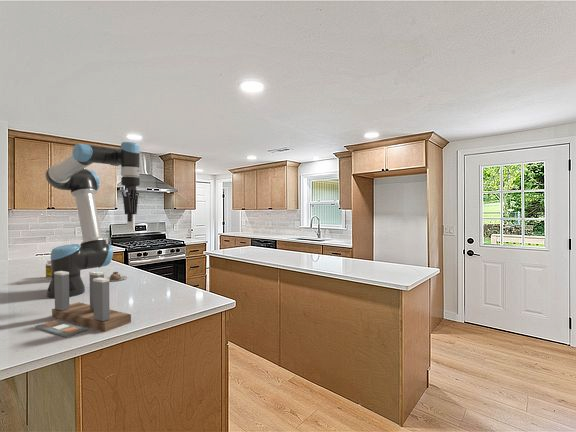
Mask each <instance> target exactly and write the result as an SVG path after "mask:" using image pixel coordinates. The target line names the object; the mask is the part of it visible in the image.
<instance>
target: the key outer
mask: <svg viewBox="0 0 576 432" xmlns="http://www.w3.org/2000/svg"><path fill="white" fill-rule="evenodd" d="M109 280H110V279H107V277H104V278H101V277H99V278H94V279H93V302H94V319H96V320H100V321H105V320H108V319H110V310H111V308H110V281H109Z"/></svg>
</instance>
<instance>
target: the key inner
mask: <svg viewBox="0 0 576 432" xmlns="http://www.w3.org/2000/svg"><path fill="white" fill-rule="evenodd" d="M54 286H55V298H54V308H55V309H58V310H62V311H63V310H67V309H69V305H70V296H69V272H65V271H57V272H54Z"/></svg>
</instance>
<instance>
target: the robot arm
mask: <svg viewBox="0 0 576 432" xmlns="http://www.w3.org/2000/svg"><path fill="white" fill-rule="evenodd" d="M140 153H141V152H140V144H139V143H137V142H131V141H122V142H121V144H120V148H113V147H107V146H98V145H91V144H88V143H87V144H86V143H76V144H74V146H73V148H72V154H70V155H69V156H68V157H67V158H65V159H64V160H62V161H61V162H60V163H57V164H53V165H51V166H50V167H48V168H47V170H46V171H45V179H46V181H47V183H48V184H49V185H50V186H52V187H53V188H55V189H57V190H63V191H70V194H71V196H72V197H74V198H75V203H76V204H75V205H76V208H77V214H78V220H79V225H80V231H81V236H82V237H81V238H82V241H81V242H80V244H78V243H71V244H63V245H60V246H56V247H54V248H52V249H51V252H50V260H51V278H50V279H51V280H50V282H49V286H48V287H47V291H46V296H47V297H49V298H54V299H55V286H54V272H57V271H65V272H69V297H73V296H78V295H81V294H84V293H85V292H86V289H85V285H84V282H83V279H82V276H81V271H82V270H88V269H94V268H96V269H97V268H103V267H107V266H109V265H110V263H111V262H112V259H113V256H114V249H113V246H112V244H110V243H107V240H106V239H105V238H103V236H102V230H101V225H100V220H99V215H98V210H97V204H96V200H95V196H96V194H97V191H98V190H99V189H100V183H101V181H100V177H99V175H98V174H97V173H96V172H95V171H94V170H92V169H86V168H87V167H89V166H90V165H92V164H104V165H110V166H116V167H119V166H120V168H121V169H120V175H121V183H120V184H121V186H124V191H121V195H122V200H123V210H124V215H126V220H127V223H126V225H127V229H126V230H135V227H136V223H135V222H136V221H135V218H136V217H135V216H136V215H137V214H138V213H137V212H138V204H139V203H138V202H139V197H140V196H139V195H140V194H139V193H140V192H138V191H137V187H138V186H139V187H140V184H141V183H140V182H141V180H140V179H141V178H140V172H141V169H140V161H141V160H140Z"/></svg>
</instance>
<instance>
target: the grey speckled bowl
mask: <svg viewBox="0 0 576 432" xmlns="http://www.w3.org/2000/svg"><path fill="white" fill-rule="evenodd" d="M106 278H107V279H109V282H120V281H124V280H126V279H127V278H128V276H126V275H121V274H120V273H119V272H118V271H113V272H112V273H111V275H110V276H108V277H106Z"/></svg>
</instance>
